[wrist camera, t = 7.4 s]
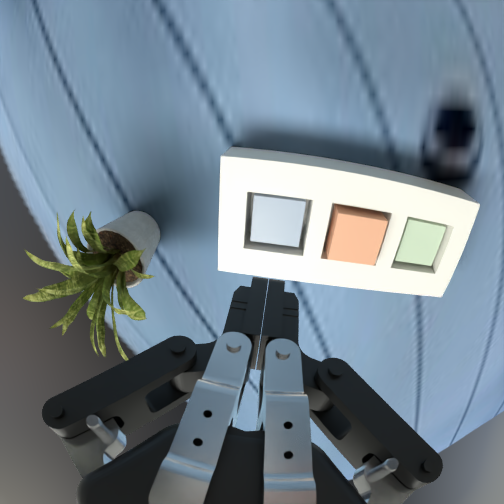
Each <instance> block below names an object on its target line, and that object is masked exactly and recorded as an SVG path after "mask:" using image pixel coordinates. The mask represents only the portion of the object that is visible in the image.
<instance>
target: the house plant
mask: <svg viewBox="0 0 504 504" xmlns="http://www.w3.org/2000/svg"><path fill="white" fill-rule="evenodd" d="M57 225H58V228H57V234H58V239H59V243H60V245H61V247H62V249H63V251H64V253H65V255H66V257H67V258H68V259H69V260H70V262H71V264H72V266H68V265H64V264H60V263H55V262H47V261H43V260H41V259H39V258H37V257H36V256H34V255H32V254H30V253H28V252H27V251H26V253H27V255H29V257H30V258H31V259H32V260H33V261H34V262H36V263H37V264H38V265H40V266H42V267H45V268H48V269H52V270H56V271H60V272H61V273H62V274H64V275H65V276H67V277H69V278H71V279H68V280H65V281H63V282H60V283H57V284H53V285H50V286H46V287H44V288H43V289H38V290H40V291H39V292H37V293H36V294H32V295H27V296H26V297H24V299H26V300H29V301H33V302H44V301H49V300H53V299H56V298H61V297H65V296H68V295H72V294H76V293H79V292H81V291H83V290H84V291H83V292H82V293H81V294H80V296H79V297H78V298H77V300H76V301H75V302H74V303H73V305H72V306H71V307H70V309H69V311H68V312H67V314H66V315H65V316H64V317H63V318H62V319H61V320H60V321H58V322H57V323H55V324H54V325H53V326H52V327H51V328H55V327H57V326H60V325H61V324H63V331H62V334H64V333H65V332H66V330H67V328H68V326H69V325H70V324H71V323H72V322H73V321H74V319H75V317H76V315H77V313H78V312H79V310H80V309H81V308H82V306H83V305H84V304H85V303H86V302H87V301H88V299H89V298H90V297H91V295H92V294H93V293H94V294H93V296H92V299H91V301H90V303H89V305H88V308H87V315H88V317H89V318H90V319H92V323H91V329H90V338H91V342H92V345H93V348H94V350H95V352H96V353H97V351H96V348H95V345H94V327H95V322H96V330H97V336H98V344H99V348H100V350H101V352H102V354H103V355H104V354H105V355H106V348H105V344H104V339H105V327H104V316H105V311H106V306H107V304H108V305H109V306H110V307H111V310H112V320H113V329H114V335H115V340H116V344H117V347H118V349H119V352H120V354H121V355H122V356H123V358H124V359H125V360H128V358H127V357H126V355H125V354H124V352H123V351H122V348H121V346H120V344H119V340H118V336H117V331H116V324H115V317H114V311H115V312H116V313H118V314H126V315H128V316H129V317H130V318H131V319H133V320H145V319H147V318H146V317H145V312H144V311H143V309H142V308H141V307H140V306H139V305H138V304H137V303H136V302H135V301H134V300H133V299H132V298H131V296H130V295H129V293H128V290H127V288H131V287H134V286H136V285H138V284H139V283H140V282H141V281H142V280H143V279H149V278H152V277H155V276H152V275H145V273H146V270H147V268H148V266H149V263H150V261H151V259H152V257H153V254H154V252H155V250H156V248H157V245H158V243H159V241H160V229H159V227H158V224H157V223H156V221H155V220H154V219H153V218H152V217H151V216H150V215H148V214H147V213H145V212H142V211H132V212H129V213H127V214H125V215H124V216H122V217H120V218H118V219H116V220H114V221H112V222H110V223H108V224H106V225H104V226H103V227H101V228H99V229H97V230H96V229H95V228H94V226H93V224H92V220H91V212H90V214H89V216H88V217H87V219H86V220H85V221H84V218H82V225H81V227H82V233H83V236H84V238H85V240H86V241H87V243H88V244H87V248H86V247H84V246H83V244H82V243H81V241H80V238H79V235H78V231H77V227H76V223H75V220H74V211H73V213H72V214H71V216H70V218H69V219H68V222H67V232H68V236H69V238H70V240H71V241H72V243H73V244H74V246H75V247H76V248H77V252H76V251H72V248H71V246H70V244H69V242H68V240H67V236H66V245H65V244H64V242H63V240H62V238H61V235H60V228H59V221H58V214H57ZM79 250H81V251H83V252H85V253H83V252H80V251H79ZM112 284H113V285H112ZM114 285H115V286H116V288H117V292H118V302H119V305H120V307H121V309H122V310H121V309H116V308H113V287H114ZM111 287H112V292H111V302H110V289H111ZM124 309H125V310H124Z"/></svg>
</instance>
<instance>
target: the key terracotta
mask: <svg viewBox="0 0 504 504" xmlns="http://www.w3.org/2000/svg"><path fill="white" fill-rule="evenodd" d="M387 223H388V221H387V219H386V218H385V216H384V215H383V213H382V212H381V211H377V210H372V209H366V208H360V207H354V206H348V205H342V204H336V203H334V208H333V213H332V218H331V223H330V227H329V232H328V237H327V241H326V252H327V258H328V259H329V260H336V261H344V262H351V263H359V264H366V265H373V266H374V264H375V261H376V258H377V255H378V252H379V249H380V246H381V243H382V240H383V236H384V233H385V230H386V226H387Z"/></svg>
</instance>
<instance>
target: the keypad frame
mask: <svg viewBox="0 0 504 504" xmlns="http://www.w3.org/2000/svg"><path fill="white" fill-rule="evenodd" d="M255 193H264V194H272V195H280V196H288V197H295V198H302V199H306V205H305V212H304V218H303V224H302V230H301V235H300V241H299V247H293V246H286V245H278V244H271V243H263V242H255V241H250V237H251V225H252V212H253V200H254V194H255ZM334 203H336V204H342V205H348V206H354V207H360V208H366V209H372V210H377V211H381V212H382V213H383V215H384V216H385V218H386V219H387V221H388V223H387V226H386V230H385V233H384V236H383V240H382V243H381V246H380V249H379V252H378V255H377V258H376V261H375V264H374V266H373V265H366V264H359V263H351V262H344V261H336V260H329V259H328V258H327V252H326V241H327V237H328V232H329V227H330V223H331V218H332V213H333V208H334ZM479 206H480V204H479V203H478V202H477V201H475V200H474V199H473V198H472V197H470V196H469V195H468V194H466V193H465V192H464V191H462V190H461V189H459V188H456V187H452V186H449V185H446V184H442V183H439V182H435V181H431V180H428V179H424V178H420V177H416V176H412V175H408V174H404V173H400V172H396V171H391V170H387V169H382V168H378V167H373V166H368V165H363V164H358V163H353V162H347V161H342V160H336V159H330V158H324V157H318V156H311V155H304V154H297V153H289V152H281V151H273V150H263V149H253V148H242V147H230V148H229V149H228V150H227V151H226V152H225V153H224V154H223V155H222V156H221V166H220V195H219V238H218V270H220V271H227V272H234V273H241V274H249V275H256V276H263V277H271V278H278V279H286V280H294V281H301V282H309V283H317V284H325V285H334V286H342V287H350V288H359V289H368V290H377V291H386V292H395V293H405V294H414V295H424V296H434V297H442V295H443V293H444V291H445V289H446V287H447V285H448V283H449V281H450V279H451V277H452V275H453V273H454V270H455V268H456V266H457V264H458V261H459V259H460V257H461V254H462V252H463V250H464V247H465V245H466V242H467V240H468V237H469V235H470V232H471V229H472V227H473V224H474V221H475V218H476V215H477V212H478V209H479ZM407 217H413V218H418V219H423V220H428V221H432V222H437V223H441V224H444V226H445V227H446V229H445V232H444V235H443V238H442V240H441V243H440V245H439V248H438V251H437V253H436V256H435V258H434V261H433V263H432V265H431V266H428V265H421V264H415V263H408V262H401V261H395V260H394V257H395V254H396V251H397V248H398V246H399V243H400V240H401V237H402V233H403V230H404V227H405V224H406V221H407Z"/></svg>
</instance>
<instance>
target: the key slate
mask: <svg viewBox="0 0 504 504" xmlns="http://www.w3.org/2000/svg"><path fill="white" fill-rule="evenodd" d="M305 205H306V199H302V198H295V197H288V196H280V195H272V194H264V193H255V194H254V200H253V212H252V225H251V237H250V241H255V242H263V243H271V244H278V245H286V246H293V247H299V241H300V235H301V230H302V224H303V218H304V212H305Z"/></svg>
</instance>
